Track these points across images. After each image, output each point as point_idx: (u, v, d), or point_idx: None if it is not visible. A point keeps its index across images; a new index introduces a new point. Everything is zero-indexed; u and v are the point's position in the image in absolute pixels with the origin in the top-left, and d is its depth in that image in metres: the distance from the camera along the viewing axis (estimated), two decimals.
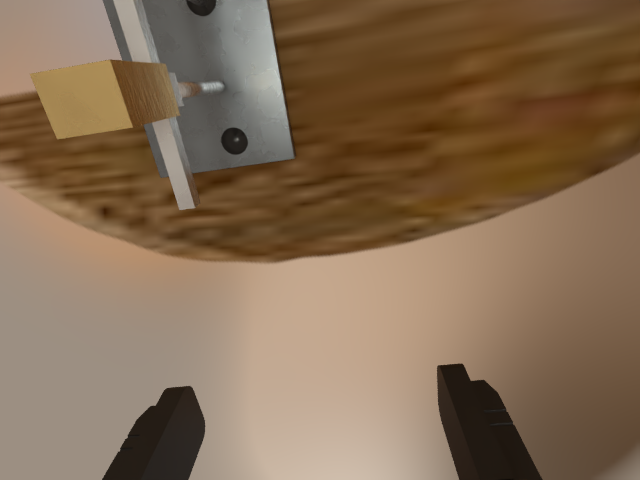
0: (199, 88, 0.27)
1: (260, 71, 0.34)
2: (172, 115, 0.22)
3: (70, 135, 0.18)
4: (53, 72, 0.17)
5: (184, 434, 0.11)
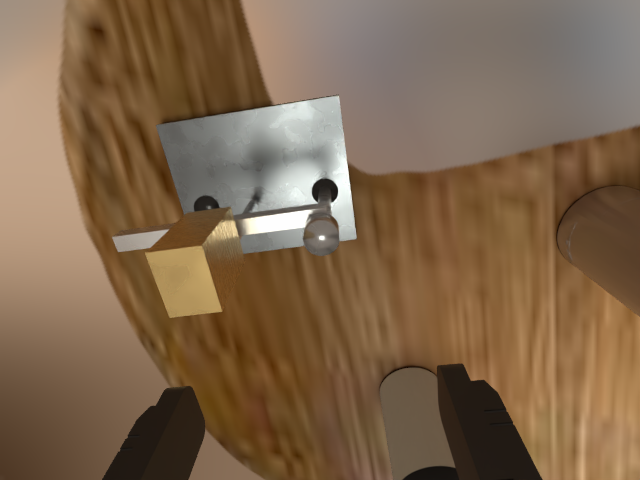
0: None
1: (269, 235, 0.38)
2: None
3: (151, 266, 0.19)
4: (206, 265, 0.19)
5: (184, 434, 0.11)
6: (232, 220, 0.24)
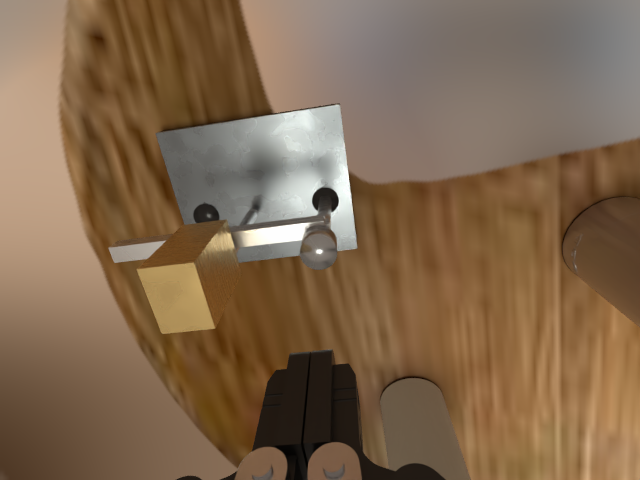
0: None
1: (269, 244, 0.38)
2: None
3: (143, 282, 0.19)
4: (198, 282, 0.19)
5: None
6: (228, 233, 0.24)
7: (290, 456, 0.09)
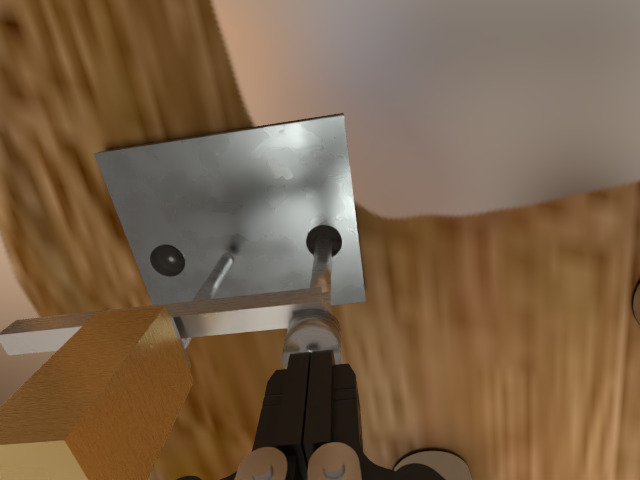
0: None
1: None
2: None
3: None
4: (79, 469, 0.10)
5: None
6: (167, 328, 0.15)
7: (290, 456, 0.09)
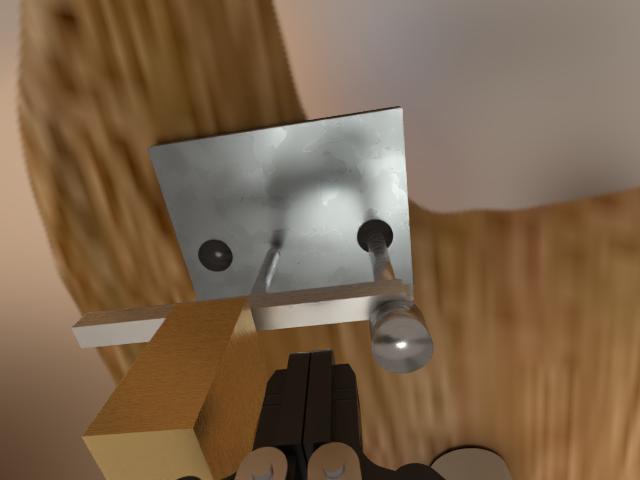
0: None
1: None
2: None
3: (95, 457, 0.10)
4: (201, 458, 0.10)
5: None
6: (249, 320, 0.15)
7: (290, 456, 0.09)
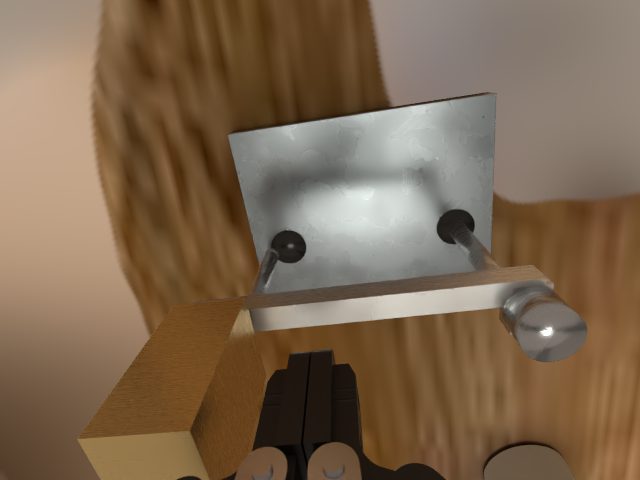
0: None
1: None
2: None
3: (91, 459, 0.10)
4: (199, 461, 0.10)
5: None
6: (247, 321, 0.15)
7: (290, 456, 0.09)
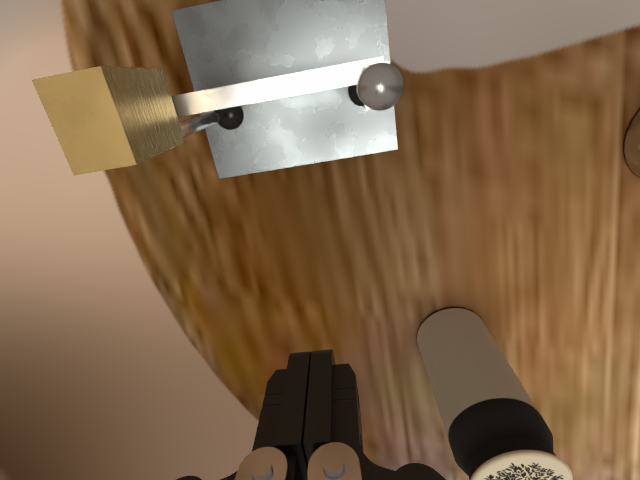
0: None
1: (299, 147, 0.34)
2: None
3: (41, 99, 0.15)
4: (109, 96, 0.15)
5: None
6: (164, 84, 0.20)
7: (290, 456, 0.09)
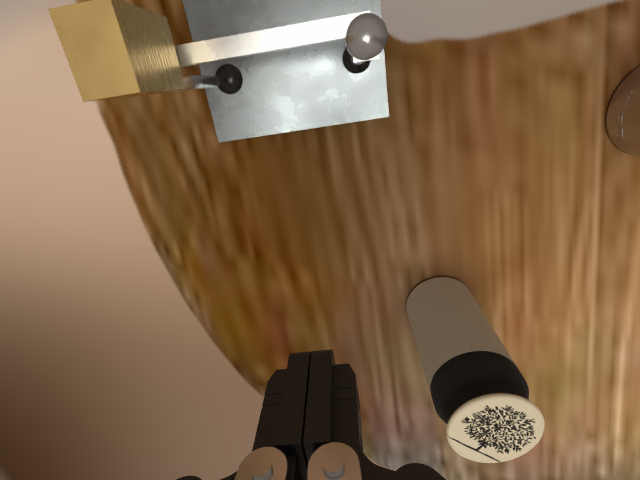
0: (190, 89, 0.28)
1: (295, 112, 0.36)
2: (134, 96, 0.23)
3: (56, 27, 0.17)
4: (117, 26, 0.17)
5: None
6: (167, 31, 0.22)
7: (290, 456, 0.09)
